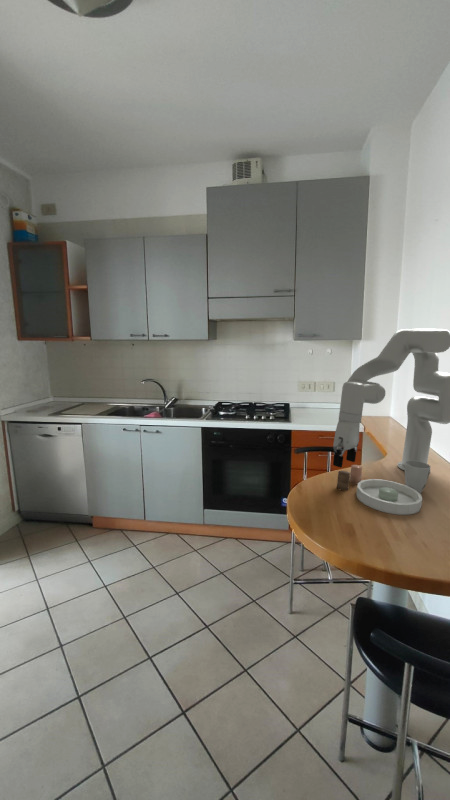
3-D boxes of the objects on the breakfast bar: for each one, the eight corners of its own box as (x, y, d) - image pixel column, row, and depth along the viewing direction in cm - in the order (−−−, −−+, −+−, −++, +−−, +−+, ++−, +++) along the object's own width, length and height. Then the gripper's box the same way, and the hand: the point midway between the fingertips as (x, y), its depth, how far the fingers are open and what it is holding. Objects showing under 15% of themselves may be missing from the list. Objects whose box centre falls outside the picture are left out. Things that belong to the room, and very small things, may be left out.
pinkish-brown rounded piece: (352, 478, 141) (354, 464, 140) (362, 481, 138) (364, 466, 137) (347, 481, 138) (349, 466, 137) (357, 484, 135) (359, 469, 134)
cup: (429, 496, 128) (434, 469, 126) (405, 493, 129) (409, 466, 127) (422, 487, 135) (426, 461, 134) (399, 484, 137) (402, 459, 135)
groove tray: (371, 483, 136) (372, 474, 136) (428, 502, 122) (430, 492, 122) (346, 498, 123) (347, 488, 122) (407, 521, 109) (409, 510, 108)
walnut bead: (340, 485, 134) (341, 469, 133) (350, 488, 131) (351, 473, 130) (334, 487, 131) (336, 472, 130) (344, 491, 128) (346, 475, 127)
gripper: (351, 412, 135) (345, 456, 137) (327, 417, 123) (322, 465, 125) (371, 416, 129) (364, 462, 132) (348, 422, 117) (342, 471, 120)
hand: (344, 463), depth 129 cm, fingers open, 9 cm apart
